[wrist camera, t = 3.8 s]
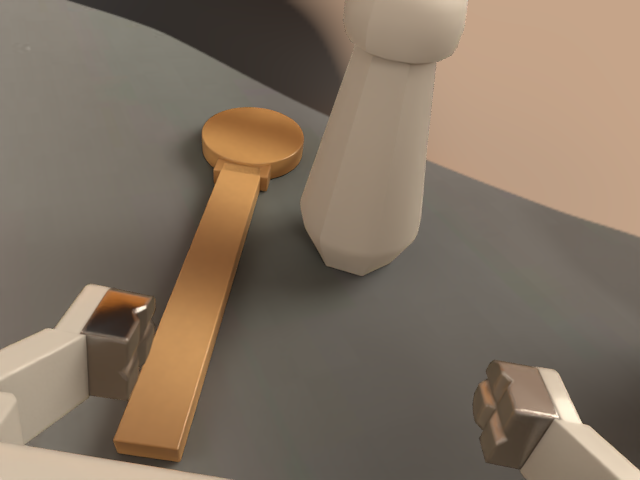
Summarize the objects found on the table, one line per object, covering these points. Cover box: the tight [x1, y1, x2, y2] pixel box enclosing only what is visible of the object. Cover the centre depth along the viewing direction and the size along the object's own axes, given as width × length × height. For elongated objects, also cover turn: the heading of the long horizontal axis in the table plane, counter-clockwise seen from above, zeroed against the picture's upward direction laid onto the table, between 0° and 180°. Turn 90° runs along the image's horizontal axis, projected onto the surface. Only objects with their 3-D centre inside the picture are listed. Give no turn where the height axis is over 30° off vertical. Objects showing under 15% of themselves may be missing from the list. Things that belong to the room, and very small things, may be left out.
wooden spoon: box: [113, 107, 304, 462], centre depth 25 cm, size 22×6×1 cm, turn 174°
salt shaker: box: [300, 0, 468, 276], centre depth 22 cm, size 6×6×13 cm
